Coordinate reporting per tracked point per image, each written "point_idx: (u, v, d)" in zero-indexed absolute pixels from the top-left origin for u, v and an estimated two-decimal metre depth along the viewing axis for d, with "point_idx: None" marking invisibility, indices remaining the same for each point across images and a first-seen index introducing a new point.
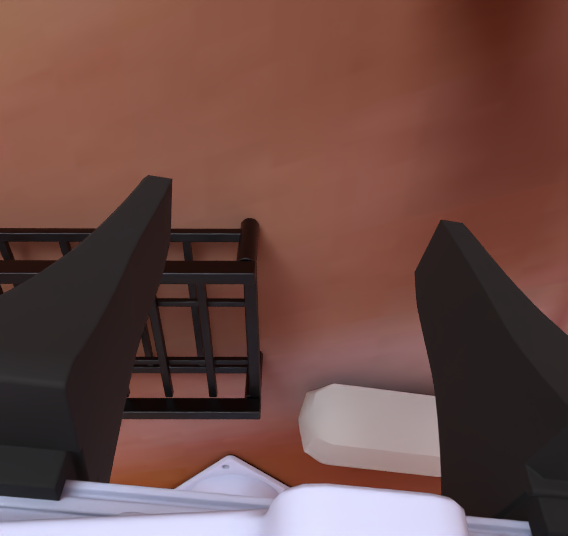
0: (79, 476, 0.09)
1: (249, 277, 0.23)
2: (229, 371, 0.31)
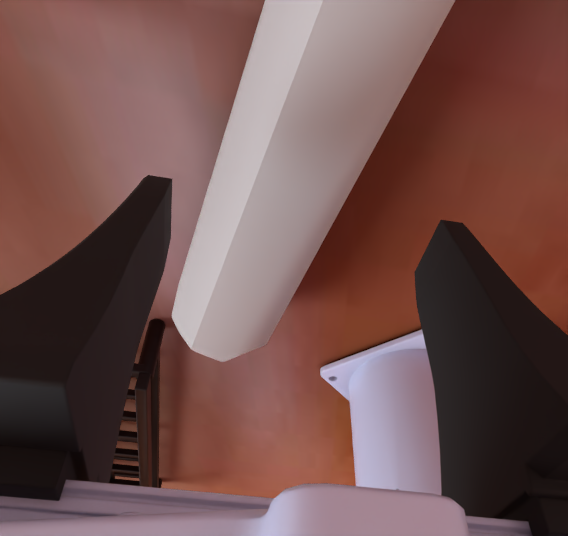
0: (79, 475, 0.09)
1: None
2: None
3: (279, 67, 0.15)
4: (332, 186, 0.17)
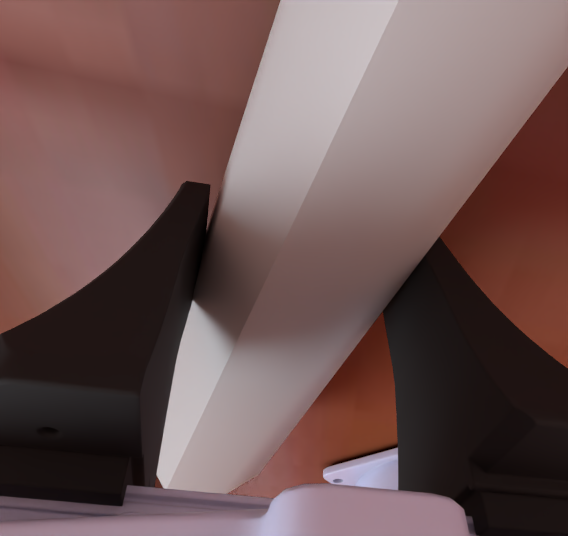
0: (136, 480, 0.09)
1: None
2: None
3: (268, 209, 0.10)
4: (343, 337, 0.13)
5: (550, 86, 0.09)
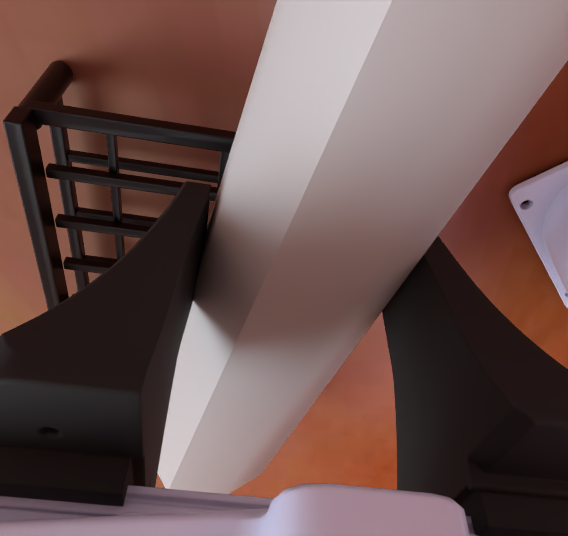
0: (136, 480, 0.09)
1: (11, 128, 0.17)
2: None
3: (267, 207, 0.10)
4: (343, 336, 0.13)
5: (549, 81, 0.09)
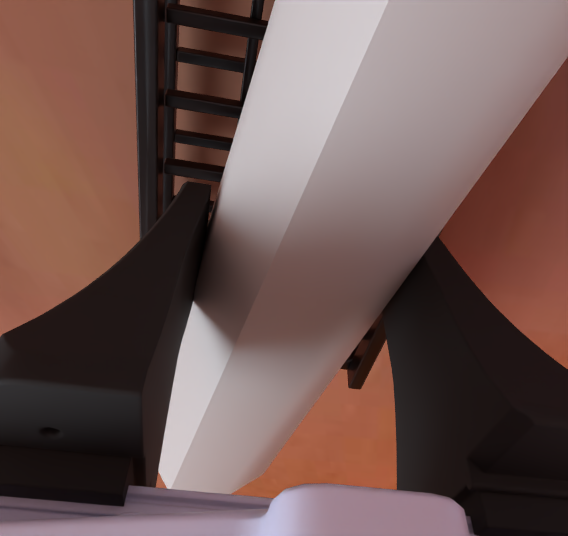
0: (137, 481, 0.09)
1: None
2: None
3: (266, 206, 0.10)
4: (343, 336, 0.13)
5: (548, 79, 0.09)
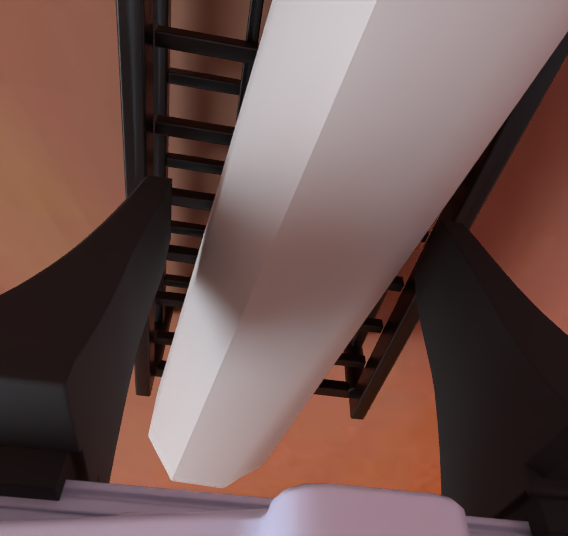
0: (79, 475, 0.09)
1: None
2: None
3: (265, 193, 0.10)
4: (342, 322, 0.13)
5: (539, 67, 0.09)
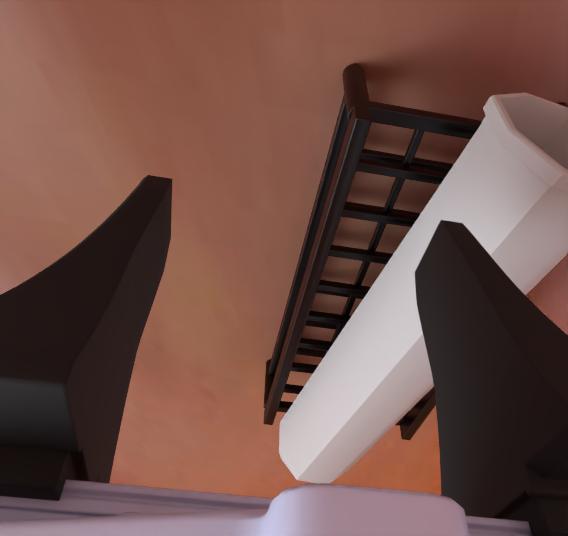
0: (79, 475, 0.09)
1: (360, 124, 0.19)
2: None
3: (392, 345, 0.22)
4: (417, 396, 0.25)
5: None
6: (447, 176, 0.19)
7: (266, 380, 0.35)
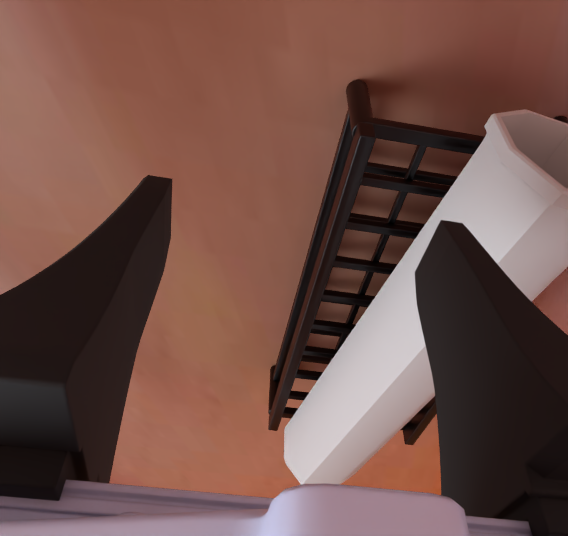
0: (79, 476, 0.09)
1: (364, 141, 0.19)
2: None
3: (395, 355, 0.23)
4: (421, 404, 0.25)
5: None
6: (449, 191, 0.20)
7: (270, 386, 0.36)
